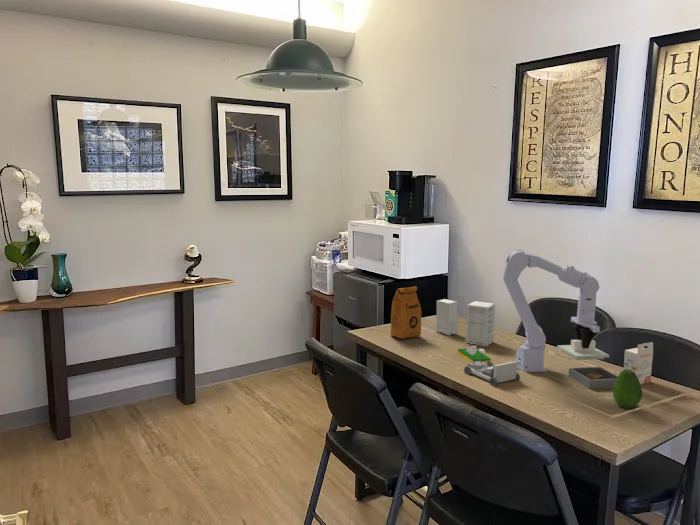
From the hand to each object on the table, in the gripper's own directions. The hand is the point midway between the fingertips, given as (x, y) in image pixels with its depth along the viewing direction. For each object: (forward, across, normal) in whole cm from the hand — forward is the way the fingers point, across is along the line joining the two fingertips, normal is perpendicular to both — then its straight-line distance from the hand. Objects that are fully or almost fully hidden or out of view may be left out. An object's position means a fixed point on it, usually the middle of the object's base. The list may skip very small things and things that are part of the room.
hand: (582, 346), depth 192 cm
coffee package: (+10, +52, +51) cm, 73 cm away
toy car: (+11, +1, +34) cm, 36 cm away
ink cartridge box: (+10, -11, -14) cm, 20 cm away
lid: (+2, 0, 0) cm, 2 cm away
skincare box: (+10, +56, +31) cm, 65 cm away
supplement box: (+10, +40, +22) cm, 47 cm away
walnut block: (+9, -10, +1) cm, 13 cm away
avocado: (+10, -30, +4) cm, 32 cm away
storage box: (+10, -10, +1) cm, 14 cm away
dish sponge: (+11, +20, +32) cm, 39 cm away
